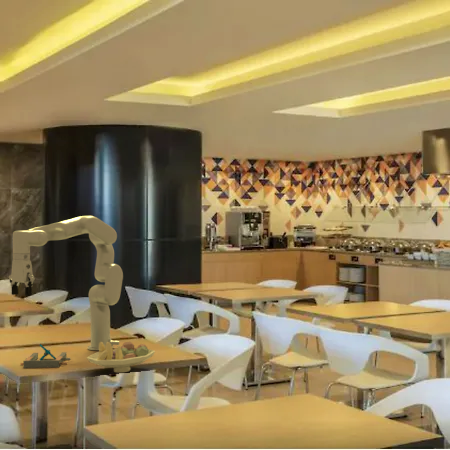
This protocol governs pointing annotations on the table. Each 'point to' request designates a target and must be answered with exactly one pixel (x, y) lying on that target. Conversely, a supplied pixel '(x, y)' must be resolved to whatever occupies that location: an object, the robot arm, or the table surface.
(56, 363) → the rail
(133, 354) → the dish with food
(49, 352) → the gear
